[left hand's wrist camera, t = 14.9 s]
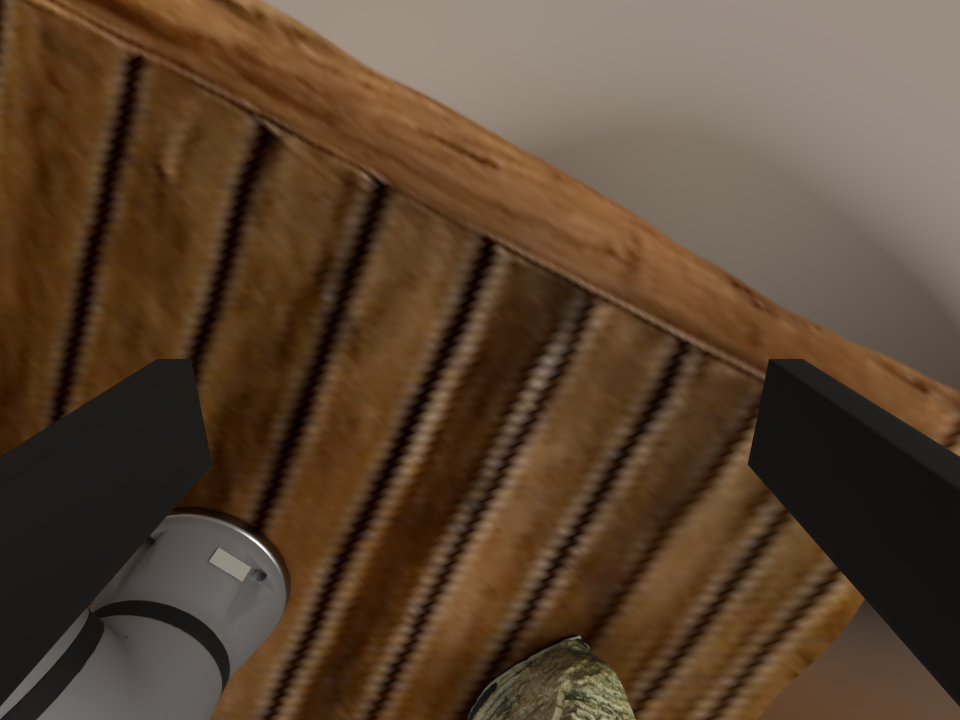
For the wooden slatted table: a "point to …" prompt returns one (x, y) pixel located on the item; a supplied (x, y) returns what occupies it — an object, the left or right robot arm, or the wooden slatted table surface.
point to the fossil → (556, 688)
